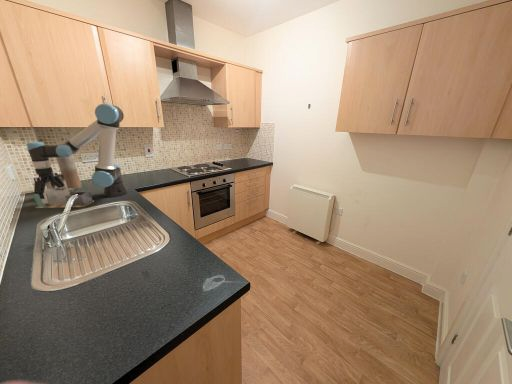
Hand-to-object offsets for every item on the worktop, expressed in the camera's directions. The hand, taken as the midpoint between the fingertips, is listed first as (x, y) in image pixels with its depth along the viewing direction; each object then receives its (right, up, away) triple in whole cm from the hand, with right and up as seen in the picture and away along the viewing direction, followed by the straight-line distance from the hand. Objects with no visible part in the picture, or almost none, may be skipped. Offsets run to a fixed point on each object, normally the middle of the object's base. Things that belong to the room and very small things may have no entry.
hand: (54, 199), depth 133 cm
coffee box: (-12, +2, +17) cm, 21 cm away
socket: (-5, -3, +1) cm, 7 cm away
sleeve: (+15, -3, +2) cm, 16 cm away
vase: (-19, +8, +35) cm, 40 cm away
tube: (+4, -3, +1) cm, 5 cm away
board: (+7, -3, +2) cm, 7 cm away
